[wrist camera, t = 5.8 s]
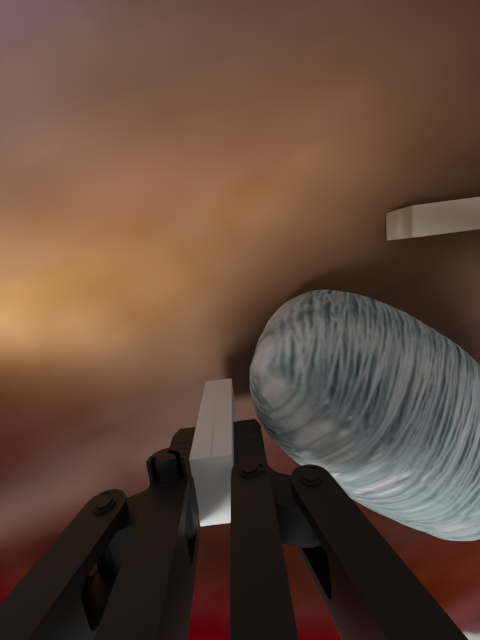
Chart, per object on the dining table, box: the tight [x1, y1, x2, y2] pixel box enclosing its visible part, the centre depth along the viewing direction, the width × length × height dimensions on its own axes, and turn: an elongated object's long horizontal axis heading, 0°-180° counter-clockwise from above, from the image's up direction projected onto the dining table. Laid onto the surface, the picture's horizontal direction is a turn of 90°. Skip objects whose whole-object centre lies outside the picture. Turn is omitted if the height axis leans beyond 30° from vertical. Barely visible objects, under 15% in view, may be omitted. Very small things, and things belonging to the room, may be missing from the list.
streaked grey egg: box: [250, 289, 480, 541], centre depth 15 cm, size 14×10×10 cm
